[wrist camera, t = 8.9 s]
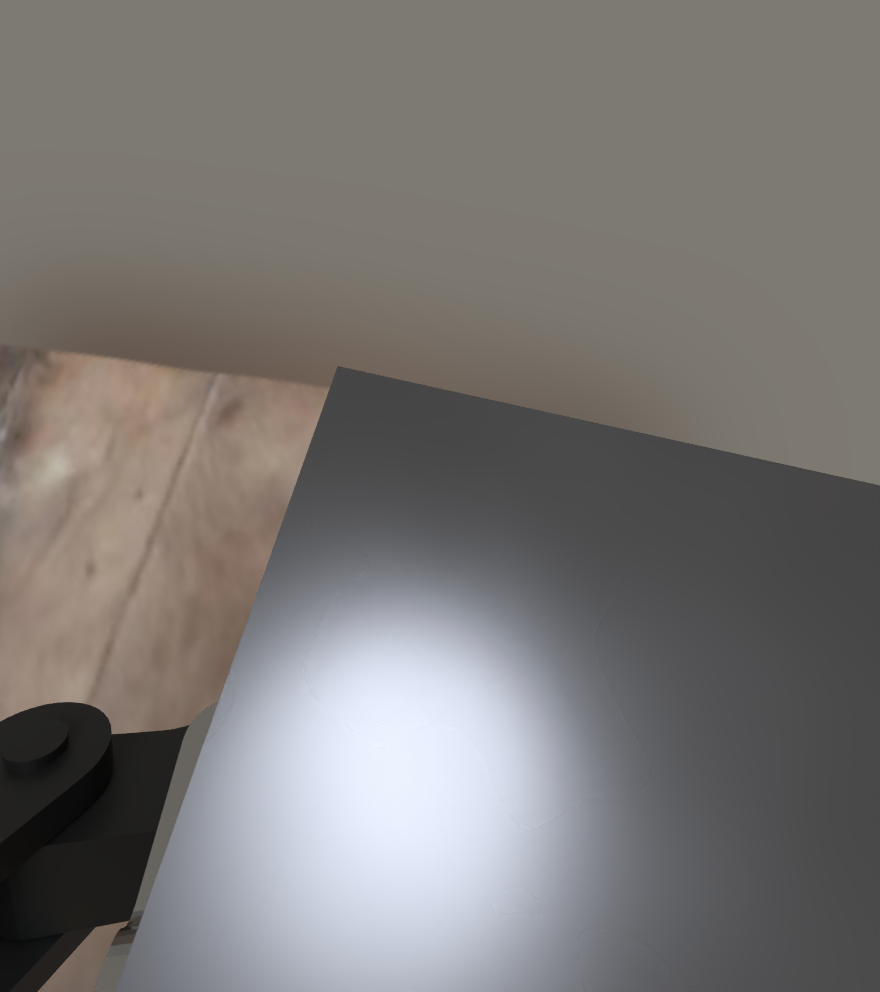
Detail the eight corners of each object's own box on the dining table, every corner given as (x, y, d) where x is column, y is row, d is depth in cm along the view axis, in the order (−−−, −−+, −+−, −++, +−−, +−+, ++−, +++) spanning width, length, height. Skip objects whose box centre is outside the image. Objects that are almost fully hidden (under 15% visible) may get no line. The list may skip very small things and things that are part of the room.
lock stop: (332, 807, 12) (-104, 1603, 1) (377, 621, 14) (338, 366, 3) (513, 846, 12) (1405, 1882, 2) (534, 654, 14) (984, 508, 3)
